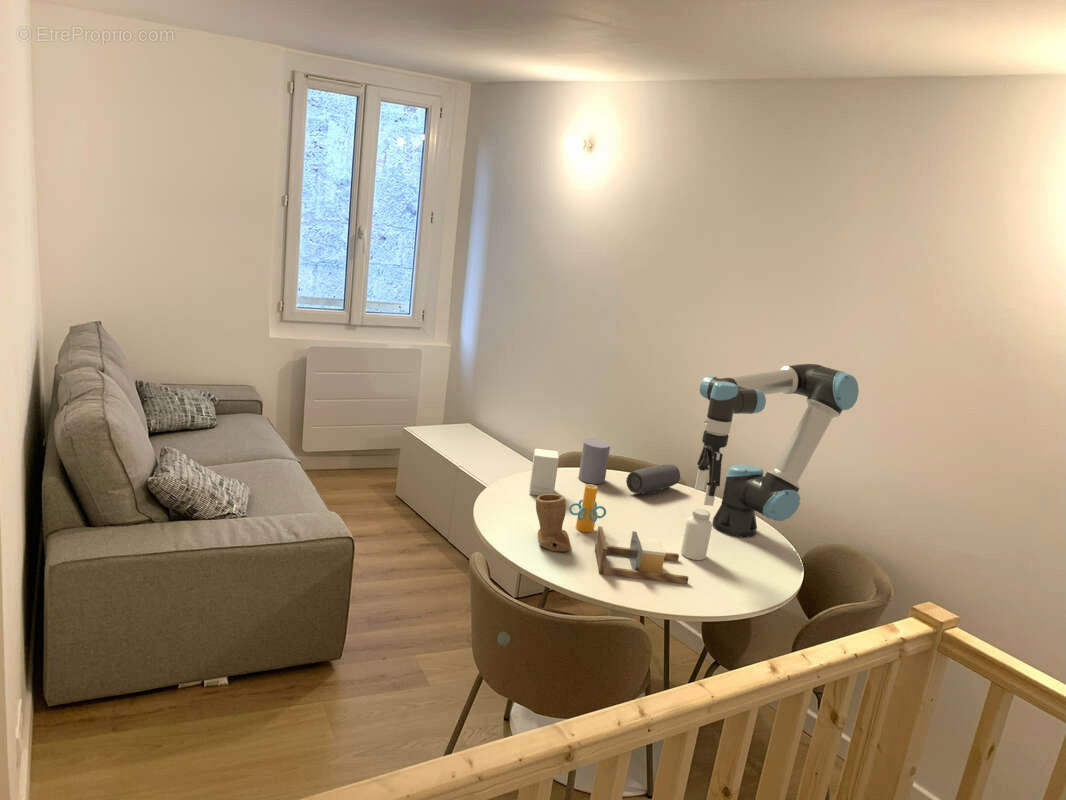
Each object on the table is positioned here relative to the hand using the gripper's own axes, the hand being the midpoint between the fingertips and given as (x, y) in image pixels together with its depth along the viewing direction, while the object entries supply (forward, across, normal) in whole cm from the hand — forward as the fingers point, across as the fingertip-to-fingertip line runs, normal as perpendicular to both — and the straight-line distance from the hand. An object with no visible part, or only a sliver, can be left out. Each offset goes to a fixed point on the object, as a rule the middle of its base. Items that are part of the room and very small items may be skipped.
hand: (703, 497), depth 249 cm
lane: (+20, +13, -19) cm, 30 cm away
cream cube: (+20, +13, -16) cm, 29 cm away
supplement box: (+20, -41, -48) cm, 66 cm away
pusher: (+20, +13, -21) cm, 31 cm away
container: (+20, -61, -28) cm, 70 cm away
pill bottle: (+20, 0, 0) cm, 20 cm away
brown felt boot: (+20, +3, -46) cm, 50 cm away
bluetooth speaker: (+20, -56, -5) cm, 60 cm away
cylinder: (+20, -11, -34) cm, 41 cm away
